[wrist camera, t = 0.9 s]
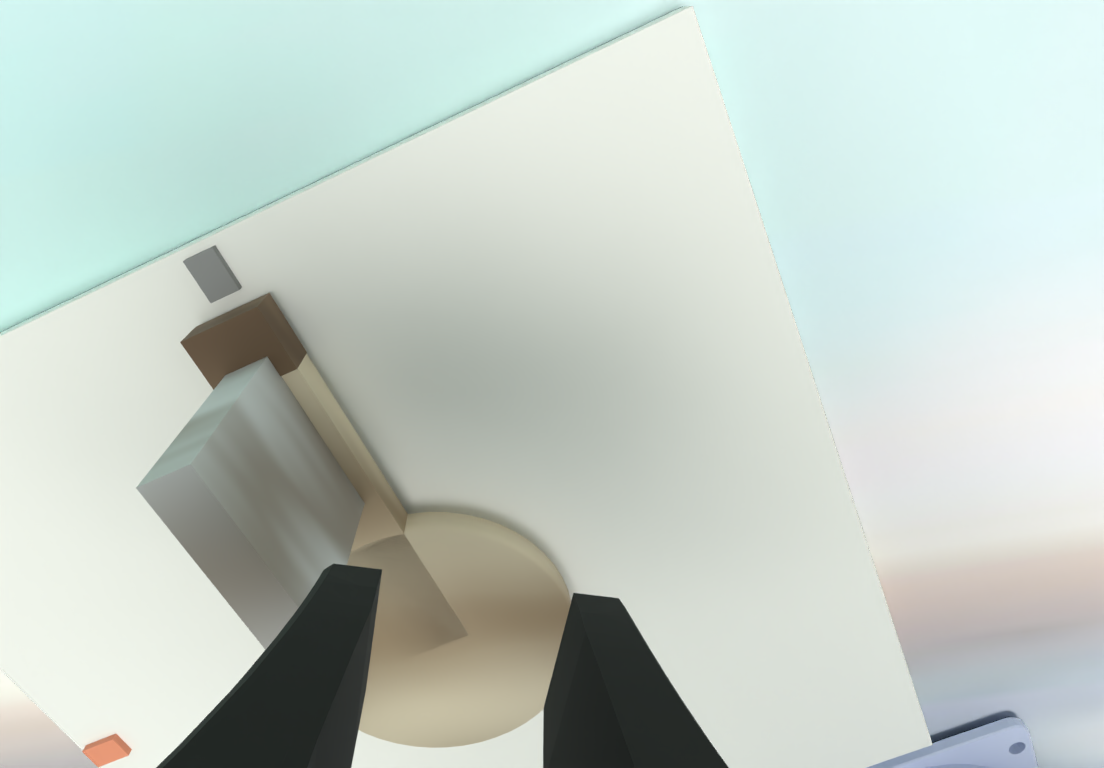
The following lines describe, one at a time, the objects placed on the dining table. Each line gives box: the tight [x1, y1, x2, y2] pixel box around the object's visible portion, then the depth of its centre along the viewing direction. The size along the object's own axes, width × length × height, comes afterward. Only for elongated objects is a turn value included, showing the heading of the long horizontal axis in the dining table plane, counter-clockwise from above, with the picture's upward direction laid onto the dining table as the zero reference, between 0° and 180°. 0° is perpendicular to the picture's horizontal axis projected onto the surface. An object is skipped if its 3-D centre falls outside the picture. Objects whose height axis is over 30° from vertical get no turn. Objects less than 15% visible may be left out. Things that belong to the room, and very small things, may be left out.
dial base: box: [0, 6, 933, 768], centre depth 21 cm, size 22×22×1 cm
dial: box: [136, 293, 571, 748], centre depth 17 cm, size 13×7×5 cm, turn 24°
